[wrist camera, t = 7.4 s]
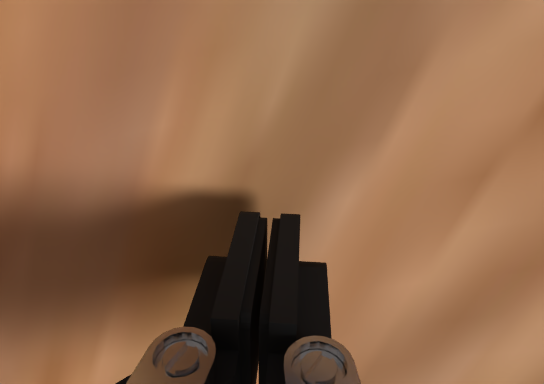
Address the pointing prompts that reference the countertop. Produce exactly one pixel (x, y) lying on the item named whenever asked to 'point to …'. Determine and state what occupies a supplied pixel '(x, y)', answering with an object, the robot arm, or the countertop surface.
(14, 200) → the countertop surface
